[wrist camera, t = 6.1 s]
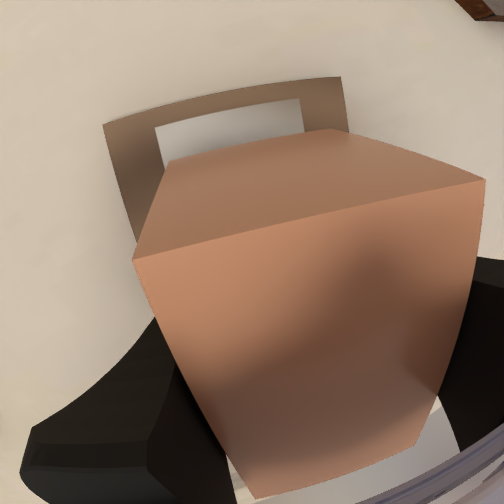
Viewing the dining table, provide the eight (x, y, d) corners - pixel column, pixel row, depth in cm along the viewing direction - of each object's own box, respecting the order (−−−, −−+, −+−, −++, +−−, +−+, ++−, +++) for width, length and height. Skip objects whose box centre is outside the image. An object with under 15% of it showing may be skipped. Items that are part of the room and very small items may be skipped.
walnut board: (352, 366, 26) (357, 375, 25) (209, 405, 25) (210, 416, 24) (333, 78, 16) (341, 76, 15) (107, 124, 15) (101, 124, 14)
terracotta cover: (343, 326, 15) (414, 445, 8) (227, 358, 14) (255, 499, 8) (330, 128, 10) (485, 178, 4) (169, 161, 10) (131, 260, 4)
